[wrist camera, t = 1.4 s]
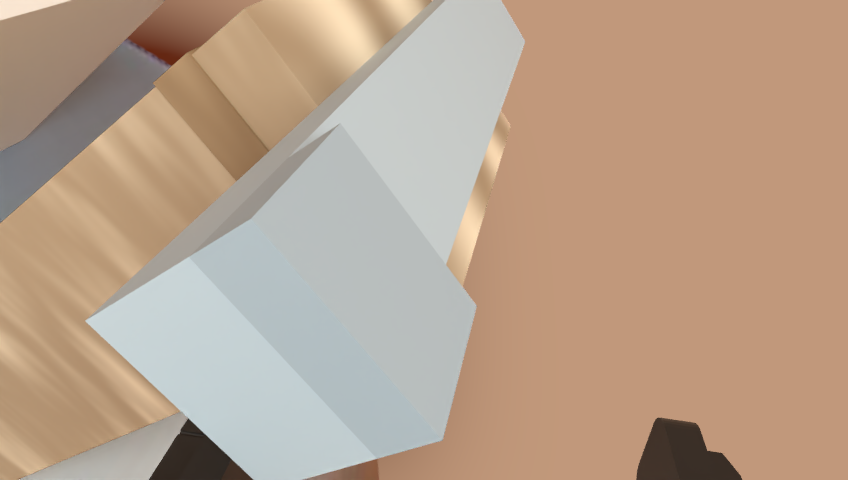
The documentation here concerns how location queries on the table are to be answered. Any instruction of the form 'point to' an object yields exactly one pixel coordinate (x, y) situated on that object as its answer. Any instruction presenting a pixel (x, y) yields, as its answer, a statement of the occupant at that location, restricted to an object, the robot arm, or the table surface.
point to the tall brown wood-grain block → (165, 212)
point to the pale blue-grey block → (333, 264)
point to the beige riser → (55, 53)
